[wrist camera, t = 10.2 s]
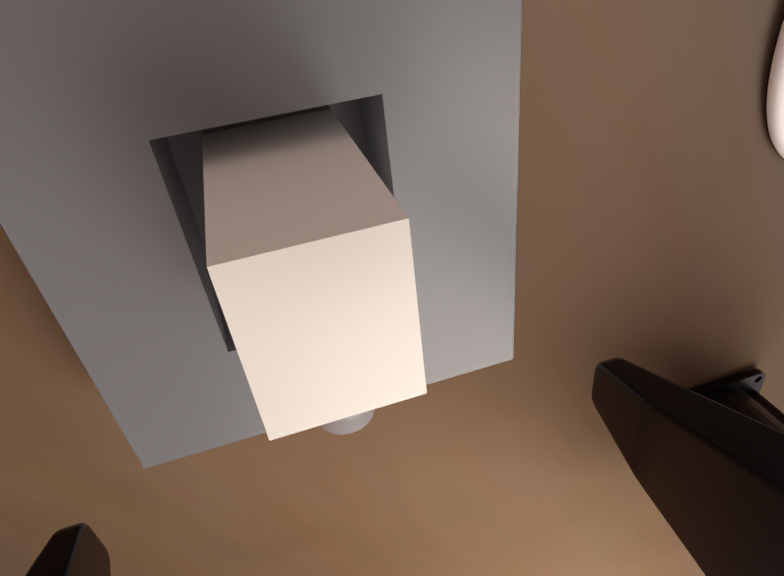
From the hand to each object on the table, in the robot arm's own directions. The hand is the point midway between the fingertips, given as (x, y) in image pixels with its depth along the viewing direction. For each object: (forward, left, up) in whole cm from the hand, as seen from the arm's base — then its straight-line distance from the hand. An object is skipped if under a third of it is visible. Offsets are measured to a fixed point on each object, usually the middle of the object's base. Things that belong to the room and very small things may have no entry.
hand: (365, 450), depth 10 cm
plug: (0, 0, -11) cm, 11 cm away
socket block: (0, 0, -12) cm, 12 cm away
